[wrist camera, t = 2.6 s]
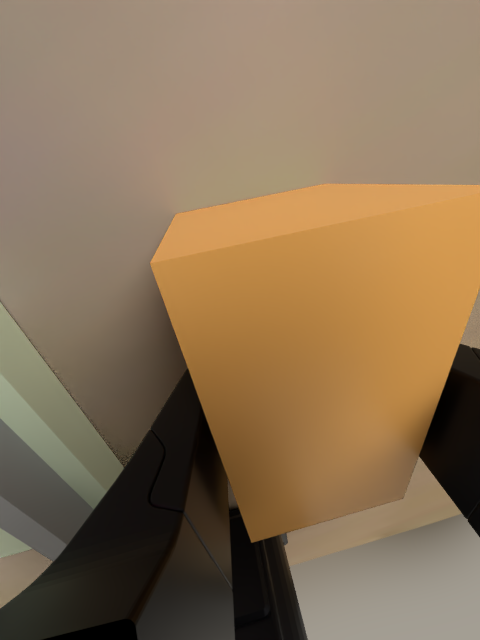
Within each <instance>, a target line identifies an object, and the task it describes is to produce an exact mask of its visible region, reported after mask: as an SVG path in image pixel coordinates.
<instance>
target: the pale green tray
mask: <svg viewBox="0 0 480 640" xmlns="http://www.w3.org/2000/svg"><path fill="white" fill-rule="evenodd" d="M123 469H124V467H123V466H122V464H121V463H120V462H119V460H118V459H117V457H116V456H115V455H114V453H113V452H112V451H111V449H110V448H109V447H108V445H107V444H106V443H105V441H104V440H103V439H102V437H101V436H100V435H99V433H98V432H97V431H96V429H95V428H94V427H93V425H92V424H91V423H90V421H89V420H88V419H87V417H86V416H85V415H84V413H83V412H82V411H81V409H80V408H79V407H78V405H77V404H76V403H75V401H74V400H73V399H72V397H71V396H70V395H69V393H68V392H67V391H66V389H65V388H64V387H63V385H62V384H61V383H60V381H59V380H58V379H57V377H56V376H55V374H54V373H53V372H52V370H51V369H50V368H49V366H48V365H47V364H46V362H45V361H44V360H43V358H42V357H41V356H40V354H39V353H38V352H37V350H36V349H35V348H34V346H33V345H32V344H31V342H30V341H29V340H28V338H27V337H26V336H25V334H24V333H23V332H22V330H21V329H20V328H19V326H18V325H17V324H16V322H15V321H14V320H13V318H12V317H11V316H10V314H9V313H8V312H7V310H6V309H5V308H4V306H3V305H2V304H1V302H0V558H2V557H6V556H10V555H13V554H17V553H20V552H24V551H28V550H31V549H34V550H36V551H37V552H39V553H41V554H42V555H44V556H45V557H47V558H48V559H50V560H52V561H53V562H54V560H55V559H56V558H57V557H58V556H59V555H60V553H61V552H62V551H63V550H64V548H65V547H66V546H67V545H68V543H69V542H70V541H71V539H72V538H73V537H74V535H75V534H76V533H77V531H78V530H79V529H80V527H81V526H82V525H83V523H84V522H85V521H86V519H87V518H88V516H89V515H90V514H91V512H92V511H93V510H94V508H95V507H96V506H97V504H98V503H99V502H100V500H101V499H102V498H103V496H104V495H105V494H106V492H107V491H108V490H109V488H110V487H111V486H112V484H113V483H114V482H115V480H116V479H117V477H118V476H119V475H120V473H121V472H122V470H123Z"/></svg>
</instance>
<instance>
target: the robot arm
mask: <svg viewBox="0 0 480 640" xmlns="http://www.w3.org/2000/svg"><path fill="white" fill-rule="evenodd" d="M419 457H420V458H421V459H422V461H423V462H424V463H425V465H426V466H427V467H428V469H429V470H430V471H431V473H432V474H433V475H434V477H435V478H436V479H437V481H438V482H439V483H440V485H441V486H442V487H443V489H444V490H445V491H446V493H447V494H448V495H449V497H450V498H451V499H452V501H453V502H454V503H455V505H456V506H457V507H458V509H459V510H460V511H461V513H462V514H463V515H464V517H465V518H466V519H468V522H469V524H470V525H471V526H472V528H473V529H474V530H475V532H476V533H477V534H478V536H479V537H480V349H477V348H470V347H469V346H466V345H463V344H459V347H458V349H457V352H456V355H455V358H454V360H453V363H452V366H451V369H450V371H449V374H448V377H447V380H446V382H445V385H444V388H443V391H442V393H441V396H440V399H439V402H438V404H437V407H436V410H435V413H434V415H433V418H432V421H431V424H430V427H429V429H428V432H427V435H426V438H425V440H424V443H423V446H422V449H421V451H420V454H419ZM287 543H288V540H287V535H286V533H284V534H280V535H277V536H273V537H270V538H267V539H263V540H260V541H256V542H253V543H251V540H250V537H249V535H248V532H247V529H246V526H245V524H244V521H243V518H242V515H241V513H240V510H239V509H237V510H234V511H230V512H229V502H228V480H227V474H226V471H225V469H224V466H223V463H222V460H221V458H220V455H219V452H218V449H217V446H216V444H215V441H214V438H213V435H212V433H211V430H210V427H209V424H208V422H207V419H206V416H205V413H204V411H203V408H202V405H201V402H200V400H199V397H198V394H197V391H196V389H195V386H194V383H193V380H192V378H191V375H190V372H189V369H188V368H187V370H186V371H185V373H184V374H183V376H182V378H181V379H180V381H179V382H178V384H177V386H176V387H175V389H174V391H173V392H172V394H171V395H170V397H169V399H168V400H167V402H166V404H165V405H164V407H163V408H162V410H161V412H160V413H159V415H158V416H157V418H156V420H155V421H154V423H153V425H152V426H151V430H149V431H148V432H147V434H146V436H145V437H144V439H143V441H142V442H141V444H140V445H139V447H138V448H137V450H136V451H135V453H134V454H133V456H132V457H131V459H130V461H129V462H128V463H127V465H126V466H125V468H124V469H123V470H122V472H121V473H120V475H119V476H118V477H117V479H116V480H115V482H114V483H113V484H112V486H111V487H110V488H109V490H108V491H107V492H106V494H105V495H104V496H103V498H102V499H101V500H100V502H99V503H98V504H97V506H96V507H95V508H94V510H93V511H92V512H91V514H90V515H89V516H88V518H87V519H86V521H85V522H84V523H83V525H82V526H81V527H80V529H79V530H78V531H77V533H76V534H75V535H74V537H73V538H72V539H71V541H70V542H69V543H68V545H67V546H66V547H65V548H64V550H63V551H62V552H61V553H60V555H59V556H58V557H57V558H56V559H55V560H54V562H53V563H52V564H51V565H50V566H49V567H48V568H47V569H46V570H45V571H44V572H43V573H42V574H41V575H40V576H39V577H38V578H37V579H36V580H35V581H34V582H33V583H32V584H31V585H30V586H28V587H27V588H26V589H25V590H24V591H22V592H21V593H20V594H19V595H17V596H16V597H15V598H14V599H12V600H11V601H10V602H8V603H7V604H6V605H4V606H3V607H2V608H1V609H0V640H308V639H307V635H306V631H305V627H304V623H303V619H302V615H301V612H300V607H299V603H298V599H297V595H296V591H295V588H294V583H293V579H292V576H291V571H290V567H289V564H288V560H287V556H286V552H285V548H284V545H286V544H287Z"/></svg>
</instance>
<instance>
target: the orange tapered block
mask: <svg viewBox="0 0 480 640" xmlns="http://www.w3.org/2000/svg"><path fill="white" fill-rule="evenodd" d="M150 265H151V268H152V270H153V273H154V276H155V279H156V281H157V284H158V287H159V290H160V292H161V295H162V298H163V301H164V303H165V306H166V309H167V312H168V314H169V317H170V320H171V323H172V325H173V328H174V331H175V334H176V336H177V339H178V342H179V345H180V347H181V350H182V353H183V356H184V358H185V361H186V364H187V367H188V369H189V372H190V375H191V378H192V380H193V383H194V386H195V389H196V391H197V394H198V397H199V400H200V402H201V405H202V408H203V411H204V413H205V416H206V419H207V422H208V424H209V427H210V430H211V433H212V435H213V438H214V441H215V444H216V446H217V449H218V452H219V455H220V458H221V460H222V463H223V466H224V469H225V471H226V474H227V477H228V480H229V482H230V485H231V488H232V491H233V493H234V496H235V499H236V502H237V504H238V507H239V510H240V513H241V515H242V518H243V521H244V524H245V526H246V529H247V532H248V535H249V537H250V540H251V543H253V542H256V541H260V540H263V539H267V538H270V537H273V536H277V535H280V534H284V533H287V532H291V531H294V530H297V529H301V528H304V527H308V526H311V525H315V524H318V523H321V522H325V521H328V520H332V519H335V518H339V517H342V516H345V515H349V514H352V513H356V512H359V511H363V510H366V509H369V508H373V507H376V506H380V505H383V504H387V503H390V502H393V501H397V500H400V499H403V498H404V495H405V493H406V490H407V487H408V484H409V482H410V479H411V476H412V473H413V471H414V468H415V465H416V462H417V460H418V457H419V454H420V451H421V449H422V446H423V443H424V440H425V438H426V435H427V432H428V429H429V427H430V424H431V421H432V418H433V415H434V413H435V410H436V407H437V404H438V402H439V399H440V396H441V393H442V391H443V388H444V385H445V382H446V380H447V377H448V374H449V371H450V369H451V366H452V363H453V360H454V358H455V355H456V352H457V349H458V347H459V344H460V341H461V338H462V336H463V333H464V330H465V327H466V325H467V322H468V319H469V316H470V314H471V311H472V308H473V305H474V303H475V300H476V297H477V294H478V291H479V289H480V185H408V184H322V185H317V186H312V187H307V188H302V189H297V190H292V191H287V192H282V193H277V194H272V195H267V196H262V197H257V198H252V199H248V200H243V201H238V202H233V203H228V204H223V205H218V206H213V207H208V208H203V209H198V210H193V211H188V212H183V213H178V214H176V215H175V217H174V219H173V220H172V222H171V224H170V226H169V228H168V230H167V232H166V234H165V236H164V238H163V240H162V241H161V243H160V245H159V247H158V249H157V251H156V253H155V255H154V257H153V259H152V260H151V262H150Z"/></svg>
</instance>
